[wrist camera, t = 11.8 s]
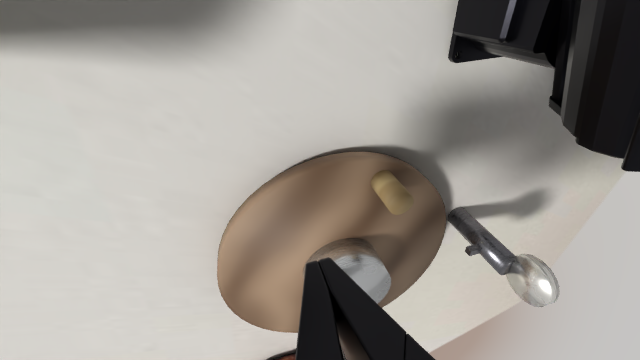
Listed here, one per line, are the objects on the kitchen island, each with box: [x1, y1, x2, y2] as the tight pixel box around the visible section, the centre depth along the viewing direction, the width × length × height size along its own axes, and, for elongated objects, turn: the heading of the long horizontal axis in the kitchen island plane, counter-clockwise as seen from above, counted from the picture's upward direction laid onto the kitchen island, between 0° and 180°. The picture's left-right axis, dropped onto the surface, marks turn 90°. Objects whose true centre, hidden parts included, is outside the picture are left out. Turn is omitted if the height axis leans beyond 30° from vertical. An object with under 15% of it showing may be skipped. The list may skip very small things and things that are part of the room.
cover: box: [303, 238, 391, 304], centre depth 25 cm, size 7×7×3 cm
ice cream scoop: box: [448, 207, 559, 307], centre depth 25 cm, size 3×4×10 cm
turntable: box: [217, 152, 446, 333], centre depth 25 cm, size 21×21×4 cm
